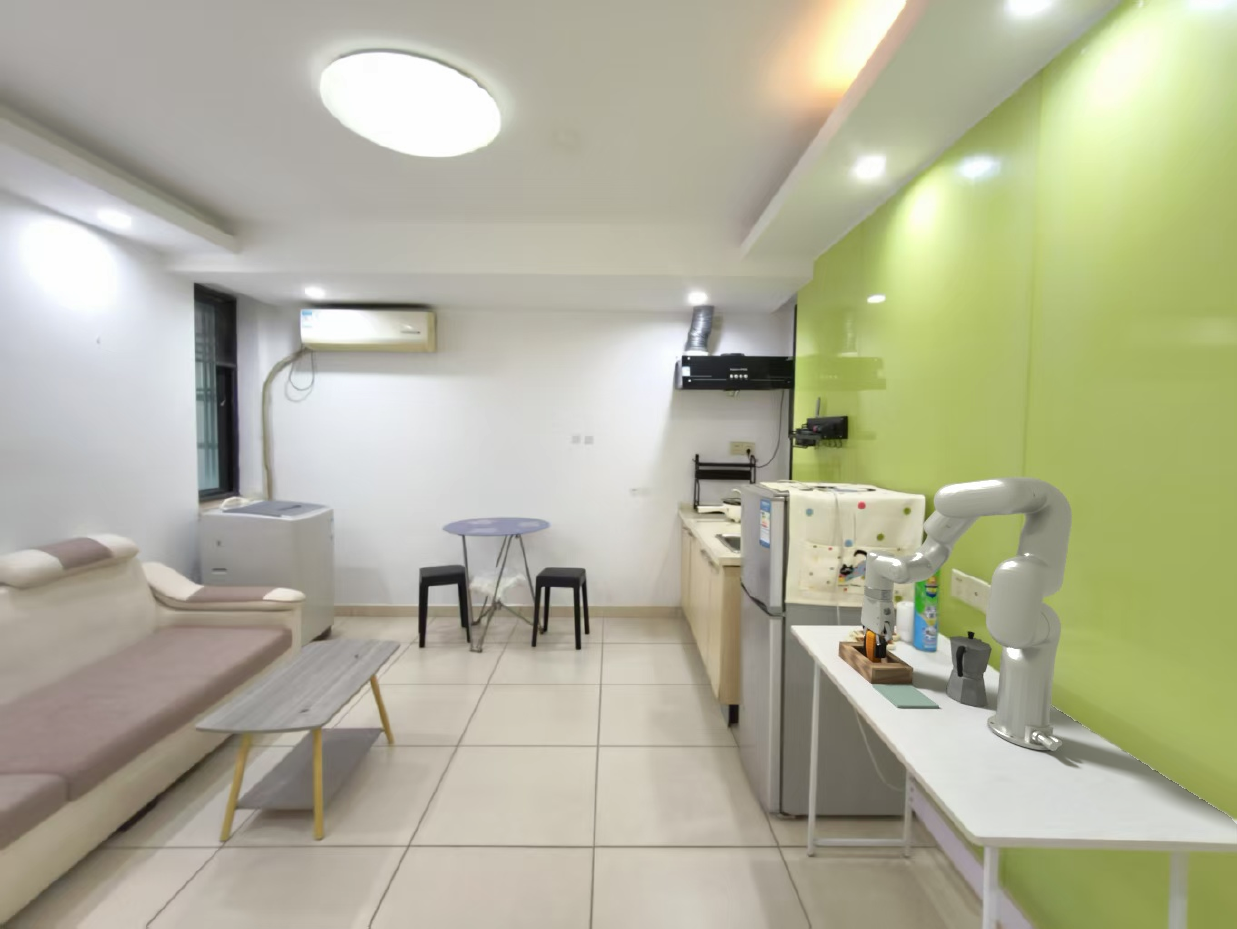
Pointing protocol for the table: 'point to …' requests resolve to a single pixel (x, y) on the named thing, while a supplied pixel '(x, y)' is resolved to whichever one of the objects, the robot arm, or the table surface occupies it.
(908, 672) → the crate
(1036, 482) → the robot arm
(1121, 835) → the table surface
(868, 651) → the carrot
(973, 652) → the coffeepot
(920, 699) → the pad
